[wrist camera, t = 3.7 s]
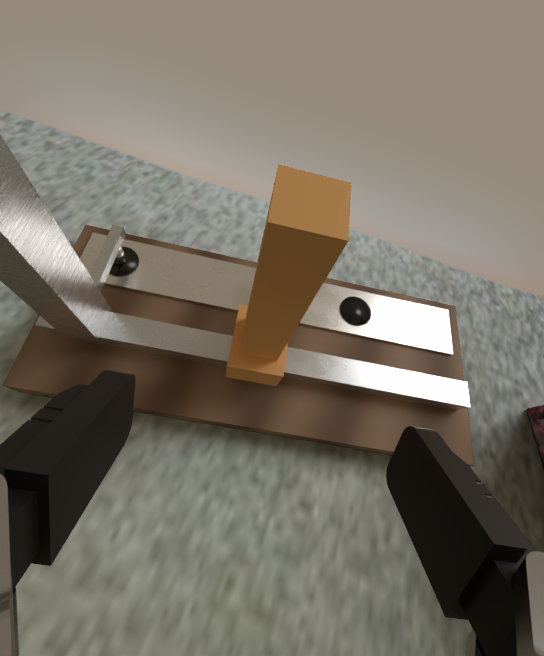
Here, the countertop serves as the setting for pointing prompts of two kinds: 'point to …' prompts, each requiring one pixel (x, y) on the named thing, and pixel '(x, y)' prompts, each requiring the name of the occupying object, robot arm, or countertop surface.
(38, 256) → the steel rail
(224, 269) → the bolt hole plate
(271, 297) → the orange slider handle
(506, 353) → the countertop surface
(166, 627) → the countertop surface
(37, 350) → the wooden jig base
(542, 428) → the snack box
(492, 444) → the countertop surface
